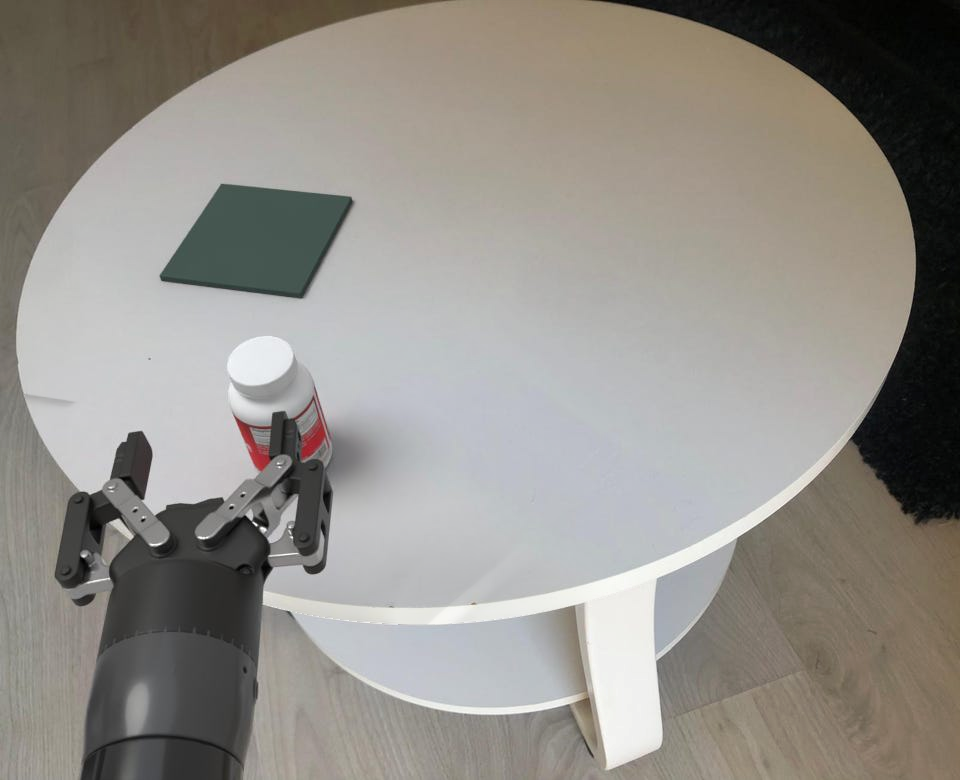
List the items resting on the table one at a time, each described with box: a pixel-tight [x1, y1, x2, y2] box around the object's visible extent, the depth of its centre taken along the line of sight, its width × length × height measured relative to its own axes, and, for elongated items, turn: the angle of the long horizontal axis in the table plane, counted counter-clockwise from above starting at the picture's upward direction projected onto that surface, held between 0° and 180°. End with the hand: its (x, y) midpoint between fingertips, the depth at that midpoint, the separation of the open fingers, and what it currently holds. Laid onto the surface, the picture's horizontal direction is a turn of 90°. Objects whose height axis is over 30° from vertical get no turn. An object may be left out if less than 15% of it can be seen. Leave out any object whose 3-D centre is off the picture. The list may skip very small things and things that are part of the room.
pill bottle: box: [226, 335, 333, 474], centre depth 73 cm, size 6×6×11 cm
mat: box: [159, 183, 353, 299], centre depth 94 cm, size 14×14×1 cm
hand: (211, 430), depth 59 cm, fingers open, 8 cm apart
